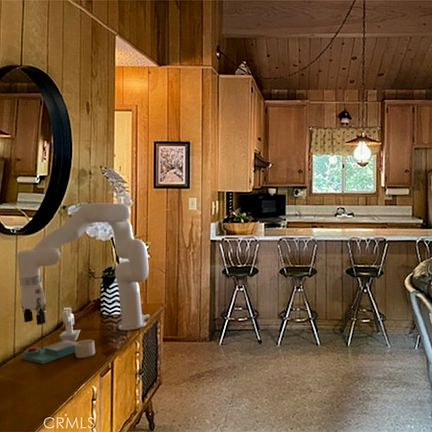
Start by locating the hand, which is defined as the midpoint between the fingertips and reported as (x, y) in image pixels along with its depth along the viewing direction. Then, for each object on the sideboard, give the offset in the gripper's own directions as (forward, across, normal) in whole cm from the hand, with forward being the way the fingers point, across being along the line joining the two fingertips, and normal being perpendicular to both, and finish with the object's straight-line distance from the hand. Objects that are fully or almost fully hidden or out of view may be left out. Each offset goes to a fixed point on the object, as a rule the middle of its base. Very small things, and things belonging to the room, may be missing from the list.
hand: (35, 322), depth 198 cm
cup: (+14, -16, -10) cm, 24 cm away
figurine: (+14, +8, -18) cm, 25 cm away
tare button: (+12, +2, +1) cm, 12 cm away
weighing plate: (+14, -5, -7) cm, 17 cm away
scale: (+14, -3, -4) cm, 15 cm away
